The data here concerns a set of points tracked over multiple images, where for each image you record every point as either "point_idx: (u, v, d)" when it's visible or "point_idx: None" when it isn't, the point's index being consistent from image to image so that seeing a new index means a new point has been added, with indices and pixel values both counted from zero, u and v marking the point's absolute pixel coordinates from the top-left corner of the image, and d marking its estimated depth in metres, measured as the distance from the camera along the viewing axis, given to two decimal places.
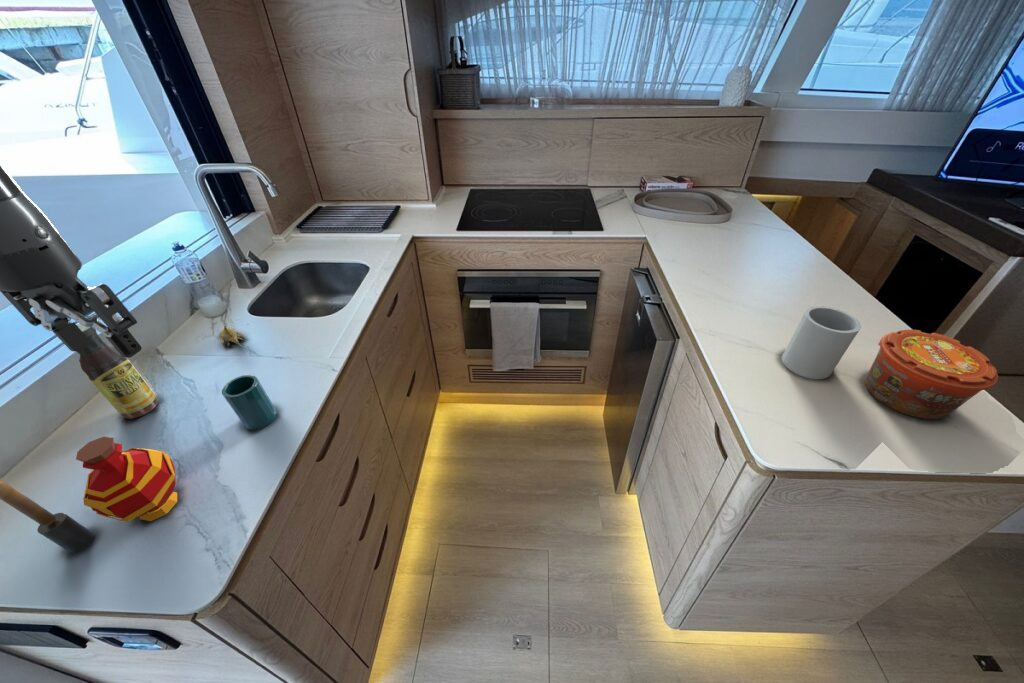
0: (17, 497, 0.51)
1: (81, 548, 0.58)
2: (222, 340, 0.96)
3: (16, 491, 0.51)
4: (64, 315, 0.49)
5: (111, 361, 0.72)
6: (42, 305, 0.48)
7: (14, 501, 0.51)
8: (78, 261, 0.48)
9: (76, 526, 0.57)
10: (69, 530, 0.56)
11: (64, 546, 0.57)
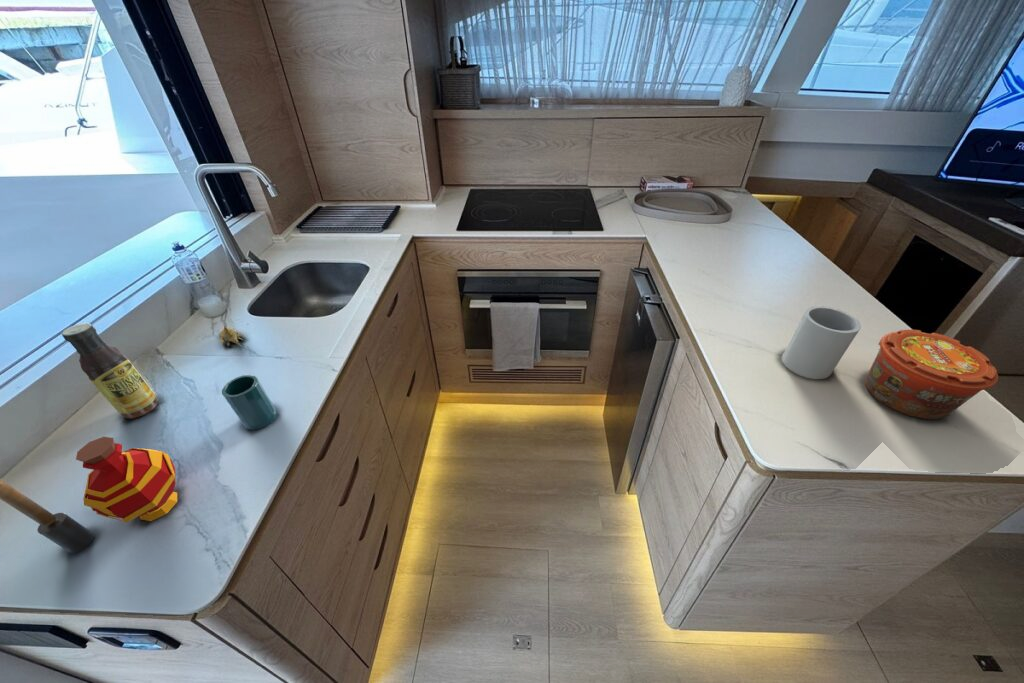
0: (17, 497, 0.51)
1: (81, 548, 0.58)
2: (222, 340, 0.96)
3: (16, 491, 0.51)
4: None
5: (111, 361, 0.72)
6: None
7: (14, 501, 0.51)
8: None
9: (76, 526, 0.57)
10: (69, 530, 0.56)
11: (64, 546, 0.57)
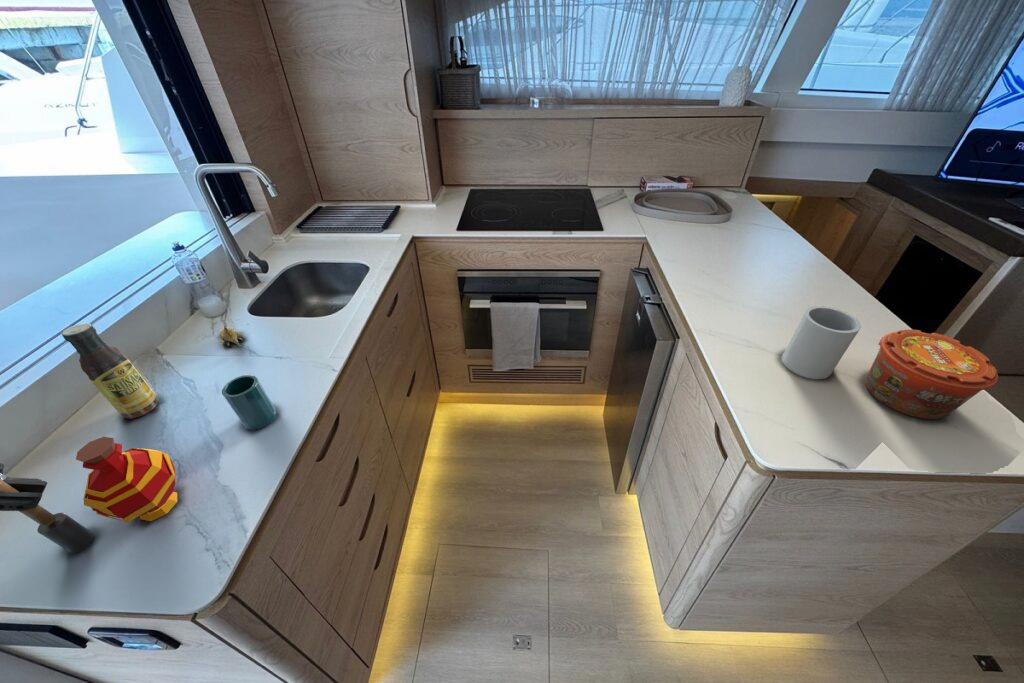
0: None
1: (81, 548, 0.58)
2: (222, 340, 0.96)
3: (16, 491, 0.51)
4: None
5: (111, 361, 0.72)
6: None
7: None
8: None
9: (76, 526, 0.57)
10: (69, 530, 0.56)
11: (64, 546, 0.57)
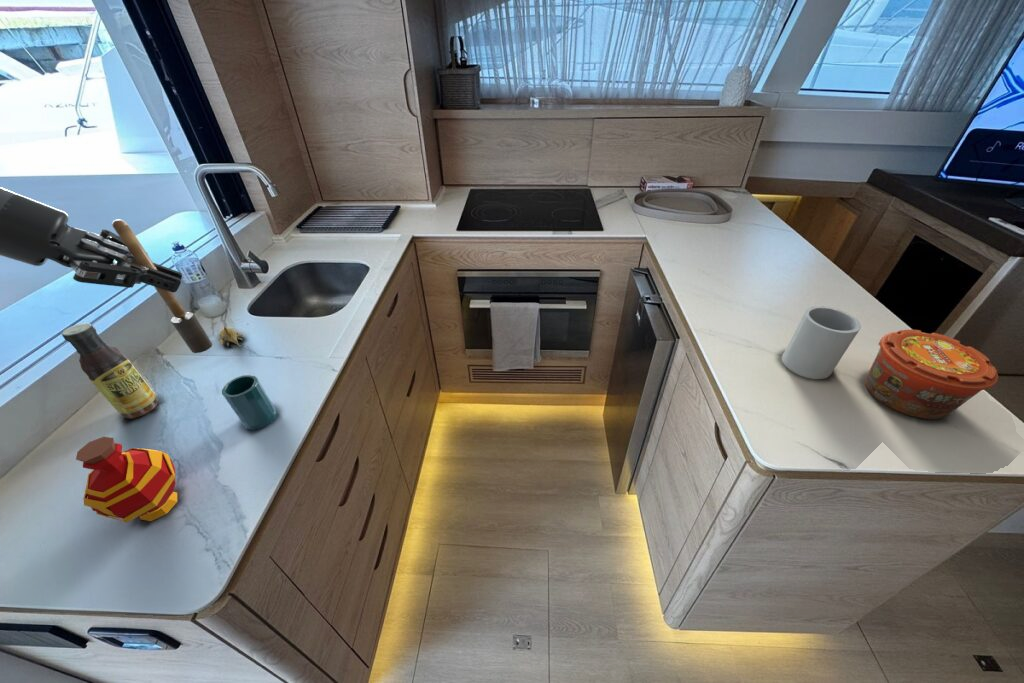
0: None
1: (203, 349, 0.63)
2: (222, 340, 0.96)
3: None
4: None
5: (111, 361, 0.72)
6: None
7: None
8: None
9: (200, 327, 0.63)
10: (196, 327, 0.62)
11: (191, 343, 0.62)
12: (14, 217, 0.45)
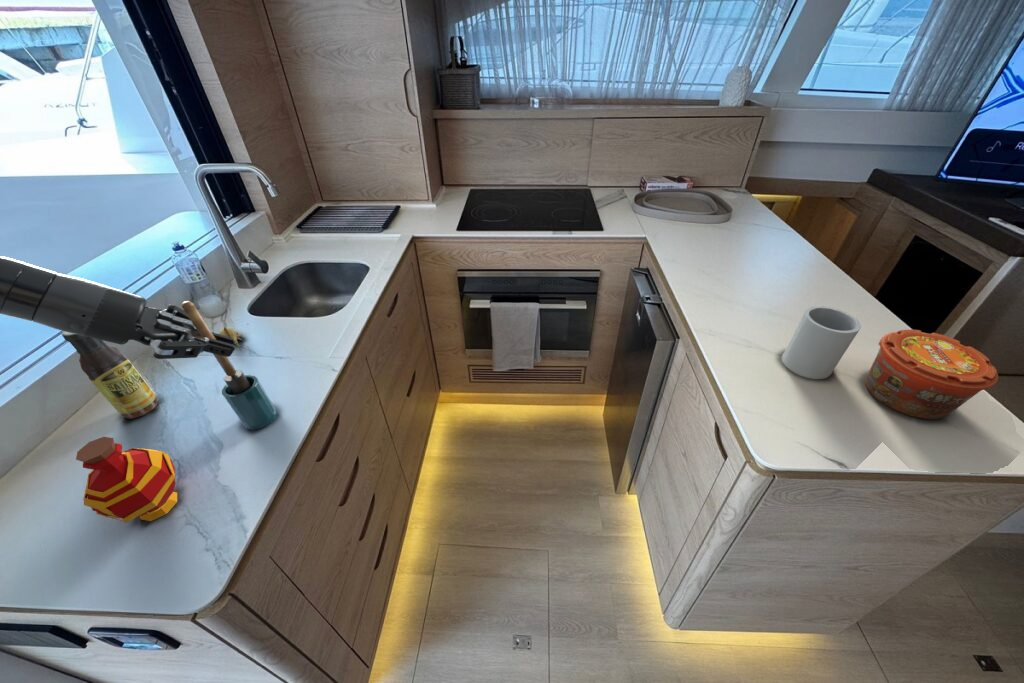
0: None
1: None
2: None
3: None
4: (179, 327, 0.62)
5: (111, 361, 0.72)
6: None
7: None
8: None
9: (247, 382, 0.72)
10: (244, 383, 0.71)
11: None
12: (109, 309, 0.54)
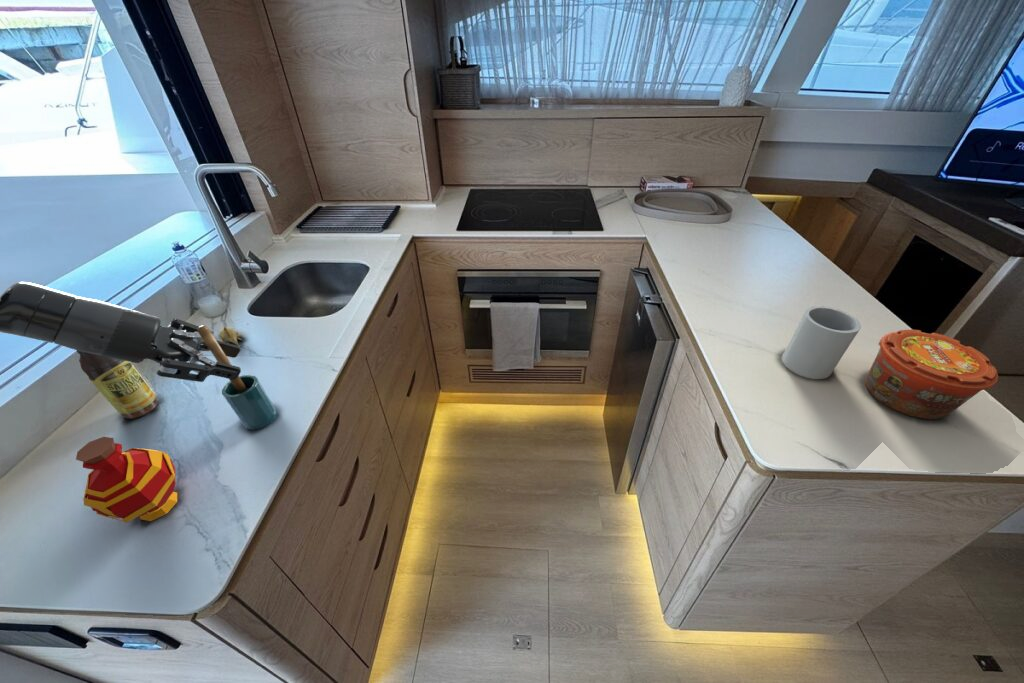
0: None
1: None
2: (222, 340, 0.96)
3: None
4: (191, 345, 0.64)
5: (111, 361, 0.72)
6: None
7: None
8: None
9: None
10: None
11: None
12: (126, 330, 0.56)
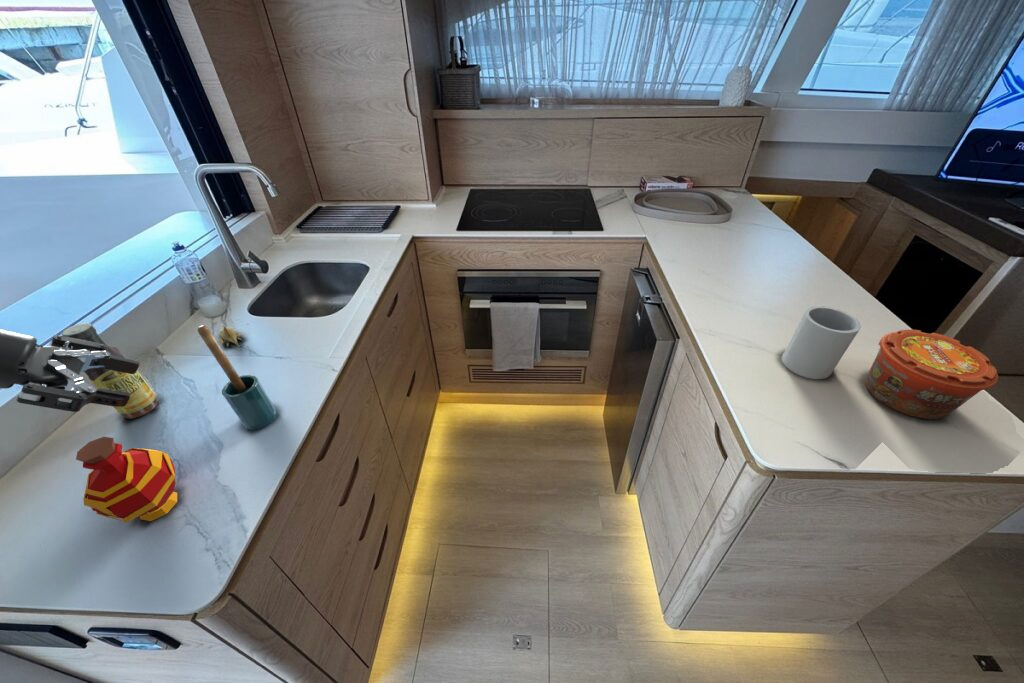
0: (230, 367, 0.69)
1: None
2: (221, 340, 0.96)
3: None
4: (77, 366, 0.58)
5: None
6: None
7: (229, 369, 0.68)
8: None
9: None
10: None
11: None
12: None
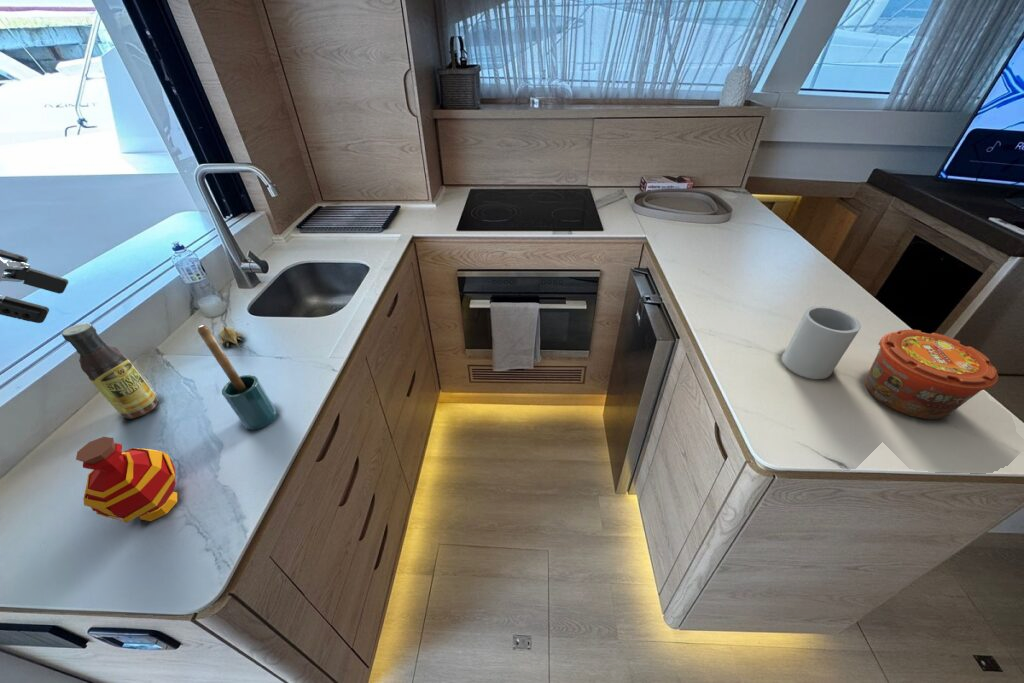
0: (230, 367, 0.69)
1: None
2: (221, 340, 0.96)
3: None
4: None
5: (111, 361, 0.72)
6: None
7: (229, 369, 0.68)
8: None
9: None
10: None
11: None
12: None
